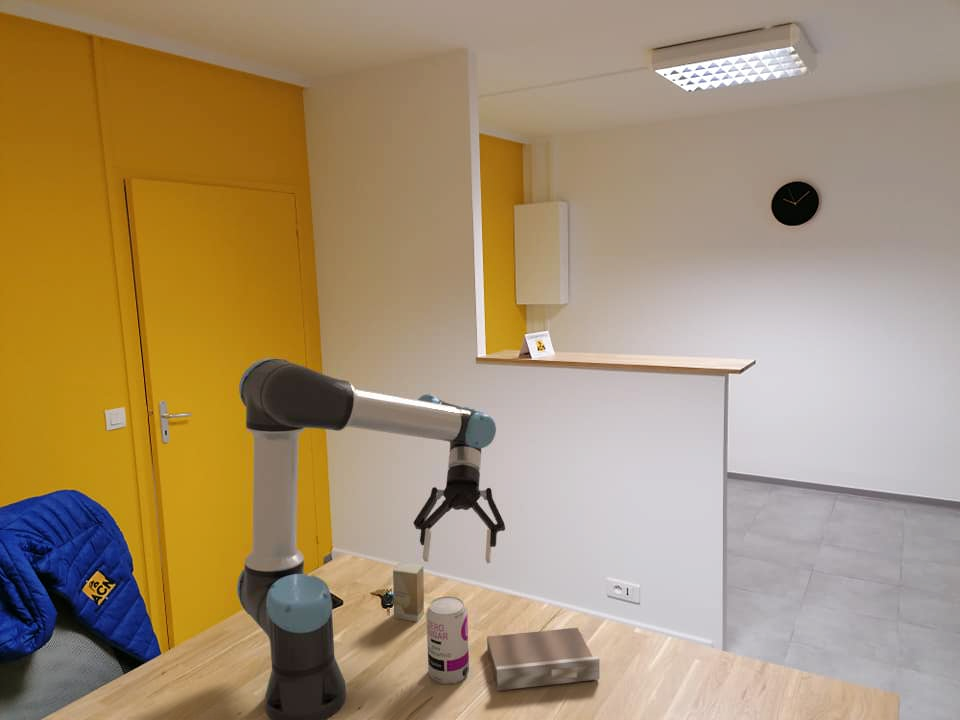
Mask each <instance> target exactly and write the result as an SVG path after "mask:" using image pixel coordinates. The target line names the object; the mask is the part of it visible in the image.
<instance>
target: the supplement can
mask: <svg viewBox="0 0 960 720" xmlns="http://www.w3.org/2000/svg"><path fill="white" fill-rule="evenodd" d="M428 605H429V606H428V608H427V609H426V613H425V616H426V617H425V618H426V638H427V639H426V640H427V641H426V642H427V643H426V644H427V662H428V663H427V666H428V667H427V669H428V674H429V677H430V678H431V679H432V680H434V682H437V683H439V684H444V685H452V684H456V683H459V682H461V681H463V680H464V679H465V678H466V677H467V676H468V674H469V671H470V657H469V656H470V652H469V625H468V624H469V621H468V620H469V619H468V609H467V607H466V606H465V603H464V601H463V600H462V599H461V598H458V597H456V596H441V597H438V598H435V599H433V600H432V601H431V602H430V603H429V604H428Z"/></svg>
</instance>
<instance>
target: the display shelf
mask: <svg viewBox="0 0 960 720" xmlns="http://www.w3.org/2000/svg"><path fill="white" fill-rule="evenodd" d="M486 645H487V646H486V647H487V650H486V651H487V653H488V657H489V661H490V664H491V668H492V672H493V675H494V678H495V683H496V689H497V691H505V690H506V691H507V690H514V689H523V688H531V687H542V686H550V685H558V684H559V685H561V684H567V683H568V684H569V683H578V682H587V681H594V680H600V656H598V655H595V656H594V655H592V652H591V651H590V649H589V647H588V645H587V643H586V641H585V639H584V637H583V636H582V632H581V631H580V630H579V628H578V627H569V628H561V629H559V628H558V629H549V630H541V631H540V630H539V631H530V632H528V631H527V632H521V633H519V632H518V633H510V634H500V635H490V636H489V635H488V636H486Z"/></svg>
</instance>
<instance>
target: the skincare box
mask: <svg viewBox="0 0 960 720" xmlns="http://www.w3.org/2000/svg"><path fill="white" fill-rule="evenodd" d="M424 570H425V569H424V565H420V564H413V563H405V562H398V564H397V565H396V566H395V567H394V569H393V571H392V581H393V584H392V585H393V586H392V588H393V593H392V594H393V619H397V620H398V619H399V620H403V621H404V620H405V621H410V622H419V621H420V620H421V618H422V617H423V615H424V614H425V598H424V597H425V595H424V594H425V588H424V586H425V583H424V582H425V581H424V578H425V577H424V576H425V575H424V573H425V572H424Z"/></svg>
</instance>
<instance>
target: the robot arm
mask: <svg viewBox="0 0 960 720" xmlns="http://www.w3.org/2000/svg"><path fill="white" fill-rule="evenodd" d="M238 392H239V393H238V394H239V398H240V400H241V402H242V403H243V405H244V407H245V408H246V409H245V413H246V414H245V428H246V430H247V431H248V432H249V433H251V434H252V435H253V484H252V485H253V487H252V488H253V491H252V494H253V496H252V500H253V501H252V506H253V507H252V551H251V552H250V553H249V554H248V555H247V556H246V557H245V559H244V568H243V570H242V571H241V572H240V574H239V576H238V580H237V583H236V584H237V585H236V592H237V593H236V594H237V597H238V599H239V600H238V601H239V602H240V605H241V606H242V608H243V610H244V611H245V612H246V613H247V614H248V615H249V616H250V617H251V618H252V619H253V620H254V621H255V623H256V624H257V625H258V626H259V628H260V629H261V630H263V632H264V633H265V634H266V635H267V637H268V639H269V647H270V659H271V660H270V661H271V672H270V675H269V679H268V683H267V687H266V691H265V694H264V705H265V713H266V715H267V717H268V719H270V720H326V719H328V718H330V717H331V716H333V715H334V714H335V713H337V712H338V711H339V710H340V709H341V708H342V706H344V704H345V701H346V698H347V690H346V689H347V687H346V681H345V678H344V676H343V674H342V671H341V669H340V667H339V664H338V662H337V659H336V657H335V641H334V640H335V639H334V627H333V626H334V623H333V600H332V595H331V591H330V588H329V586H328V584H327V583H326V581H324V580H323V579H321V578H320V577H319V576H316V575H309V576H308V574H305V573H304V572H305V571H304V569H305V566H304V563H305V556H304V554H303V553H302V552H301V550H299V549H298V548H297V536H298V535H297V533H298V531H297V527H298V526H297V525H298V490H299V489H298V488H299V487H298V485H299V484H298V483H299V482H298V481H299V480H298V479H299V438H300V437H299V436H300V435H301V434H302V432H304V431H305V430H306V429H321V430H330V431H337V432H339V431H342V430H345V429H346V428H355V429H360V430H366V431H367V430H368V431H375V432H381V433H382V432H383V433H388V434H394V435H395V434H396V435H403V436H409V437H417V438H423V439H431V440H437V441H443V442H449V455H448V462H447V463H448V465H447V468H448V469H447V472H446V473H447V475H446V486H445V488H444V489H438V487H436V486H434V487H432V489H431V492H430V496H429V498H428V499H427V500H426V501H425V504H424V505H423V507H422V508H421V510H420V511H419V513H418V514H417V516H416V518H415V519H414V521H413V526H414V528H415V529H416V530H419V531H420V537H419V542H420V545H421V546H423V550H422V559H423V561H424V562H429V557H430V549H431V548H430V547H431V539H432V531H431V528H432V527H434V525H436V523H438V522H439V520H441V519H442V518H443V517H444V515H445V514H446V513H448V512H450V511H451V510H452V509H454V510H455V511H459V510H463V511H468V510H470V509H472V510H473V511H474V513H475V514H476V515H477V516H478V517H479V518H480V520H481V521H482V522H483V523H484V524H485V526H486V527H487V528H488V529H486V543H485V544H486V545H485V561H486V563H487V564H491V557H492V556H491V555H492V547H493V548H495V547H496V546H497V539H498V538H497V534H498V533H499V532H504V531H506V524H505V521H504V519H503V518H502V514H501V513H500V511H499V510H498V508H497V505H496V502H495V501H494V498H493V492H492V489H491V488H490V487H487V488H486V489H485V490H481V489H480V480H481V479H480V477H481V476H480V475H481V473H480V471H481V463H482V449H484V448H487V447H488V446H489V445H491V443H492V442H493V441H494V439H495V437H496V432H497V425H496V421H495V420H494V419H493V417H491V416H490V415H488V414H486V413H484V412H482V411H479V410H478V409H476V408H471V407H468V406H467V407H466V406H463V407H462V406H459V405H457V404H456V405H455V404H452V403H449V402H446V401H444V400H442V399H441V398H440V397H438V396H437V397H436V396H435V395H433V394H431V393H426V394H423V395H421V396H420V397H419V398H418V399H414V398H409V397H404V396H398V395H393V394H388V393H384V392H377V391H374V390H373V391H372V390H368V389H361V388H358V387H357V388H356V387H354V386H353V384H352V383H351V382H350V381H348V380H343V379H339V378H334V377H333V376H332V377H331V376H329V375H326V374H323V373H322V372H318V371H316V370H313V369H311V368H309V367H306V366H304V365H302V364H301V365H300V364H298V363H297V364H296V363H294V362H291V361H289V360H287V359H284V358H276V357H275V358H273V357H272V358H270V357H269V358H263V359H260V360H257V361H255V362H254V363H252V364H251V365H250V366H249V367H248V368H246V370H245V371H244V372H243V374H242V375H241V378H240V381H239V386H238ZM441 497H444V500H443V501H442V502H441V504H440V505H439V506H438V507H437V508H436V509H435V510H434V511H433V512H432V510H433V509H434V507H435V506H436V504H437V502H438V500H440V499H441ZM481 497H482V498H483V500H484V501H487V504H488V506H489V509H490V510H491V514H492V515H493V517H494V519H495V521H496V523H494V522H493V520H492V519H491V518H490V517H489V515H488V514H487V512H485V510H484V509H483V508H482V507H481V505H480V504H479V503H478V500H479V499H480V498H481ZM431 512H432V513H431ZM428 516H429V517H428Z"/></svg>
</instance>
